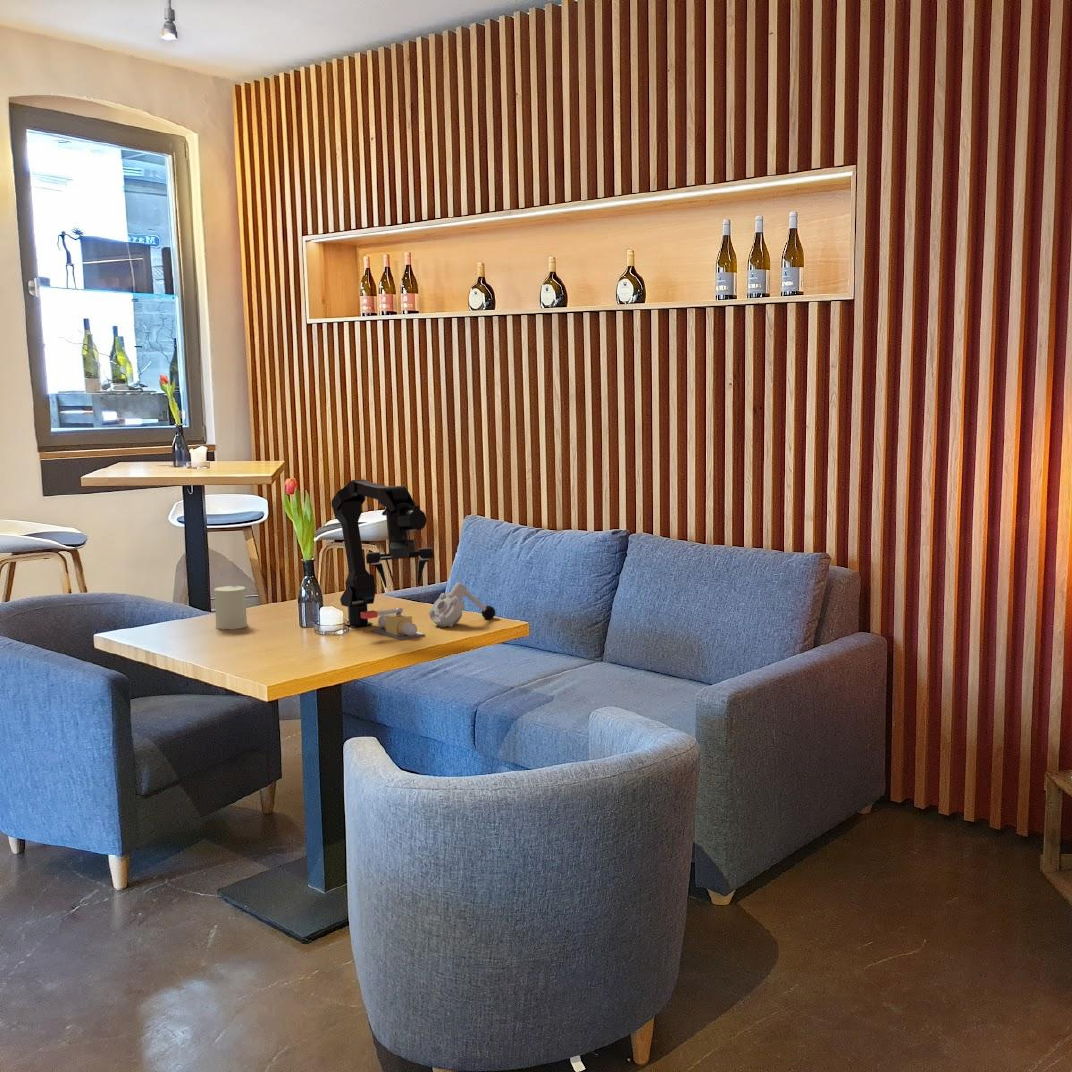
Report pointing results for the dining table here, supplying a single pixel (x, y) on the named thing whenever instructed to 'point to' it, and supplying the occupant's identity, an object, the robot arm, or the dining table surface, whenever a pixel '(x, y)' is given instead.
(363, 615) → the valve lever
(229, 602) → the can
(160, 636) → the dining table surface
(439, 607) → the mechanical valve
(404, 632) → the pipe valve
